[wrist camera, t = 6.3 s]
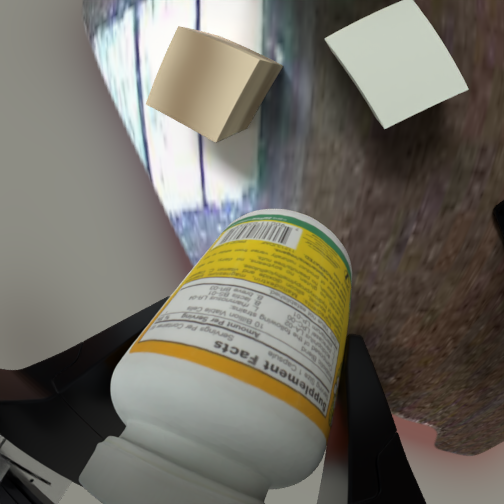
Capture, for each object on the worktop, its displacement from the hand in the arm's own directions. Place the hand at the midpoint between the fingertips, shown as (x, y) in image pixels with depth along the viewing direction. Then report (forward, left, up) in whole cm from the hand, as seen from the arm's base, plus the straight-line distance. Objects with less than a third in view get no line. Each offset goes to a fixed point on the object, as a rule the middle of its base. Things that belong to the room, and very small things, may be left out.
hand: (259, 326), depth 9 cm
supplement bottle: (0, 0, -3) cm, 3 cm away
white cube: (+3, -9, -13) cm, 16 cm away
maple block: (+9, -1, -13) cm, 16 cm away
